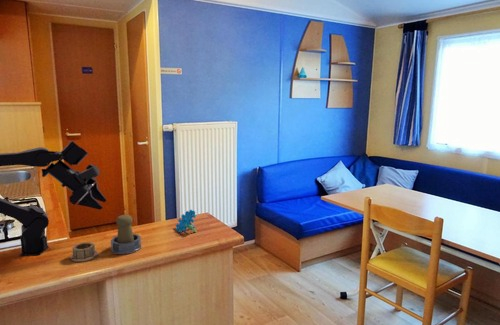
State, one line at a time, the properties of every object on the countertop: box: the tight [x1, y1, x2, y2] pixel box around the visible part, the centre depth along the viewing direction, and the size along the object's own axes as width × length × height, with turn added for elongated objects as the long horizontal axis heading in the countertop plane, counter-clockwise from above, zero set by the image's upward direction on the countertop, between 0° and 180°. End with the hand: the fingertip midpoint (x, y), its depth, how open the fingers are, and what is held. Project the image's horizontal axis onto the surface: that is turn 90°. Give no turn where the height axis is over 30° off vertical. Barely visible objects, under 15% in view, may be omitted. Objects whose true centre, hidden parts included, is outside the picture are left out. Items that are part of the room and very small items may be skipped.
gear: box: [175, 209, 198, 234], centre depth 136 cm, size 11×6×10 cm
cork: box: [115, 214, 134, 243], centre depth 118 cm, size 6×6×11 cm
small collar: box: [70, 241, 99, 263], centre depth 112 cm, size 8×8×4 cm
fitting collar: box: [110, 233, 142, 256], centre depth 119 cm, size 10×10×4 cm
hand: (103, 204), depth 123 cm, fingers open, 9 cm apart
